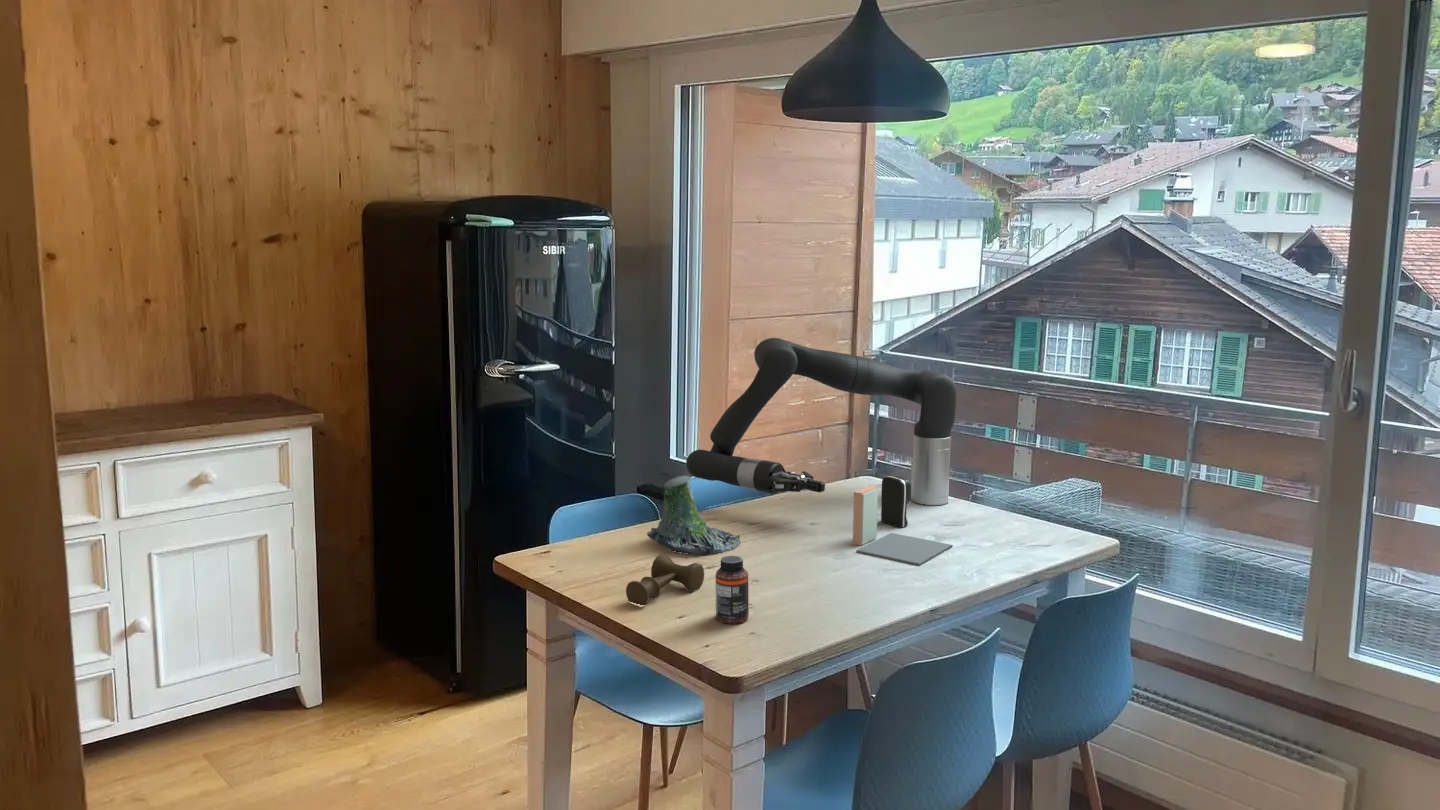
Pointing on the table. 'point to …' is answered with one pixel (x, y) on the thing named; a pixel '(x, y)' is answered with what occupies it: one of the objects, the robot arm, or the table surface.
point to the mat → (904, 549)
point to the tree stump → (688, 524)
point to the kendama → (664, 579)
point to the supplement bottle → (732, 591)
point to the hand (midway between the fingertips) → (823, 487)
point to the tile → (865, 515)
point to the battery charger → (895, 500)
